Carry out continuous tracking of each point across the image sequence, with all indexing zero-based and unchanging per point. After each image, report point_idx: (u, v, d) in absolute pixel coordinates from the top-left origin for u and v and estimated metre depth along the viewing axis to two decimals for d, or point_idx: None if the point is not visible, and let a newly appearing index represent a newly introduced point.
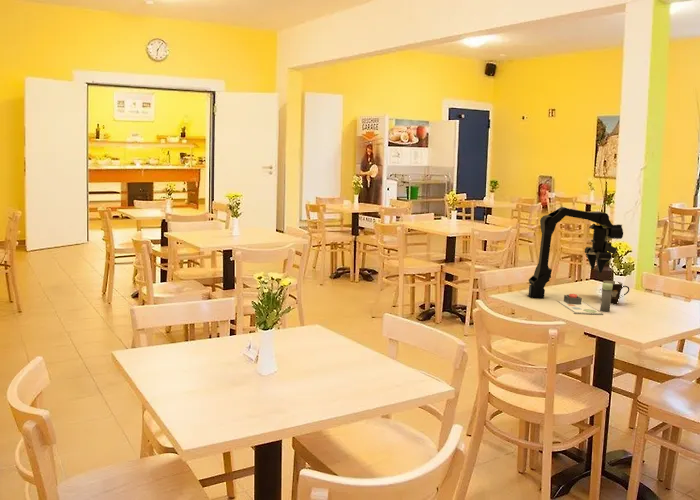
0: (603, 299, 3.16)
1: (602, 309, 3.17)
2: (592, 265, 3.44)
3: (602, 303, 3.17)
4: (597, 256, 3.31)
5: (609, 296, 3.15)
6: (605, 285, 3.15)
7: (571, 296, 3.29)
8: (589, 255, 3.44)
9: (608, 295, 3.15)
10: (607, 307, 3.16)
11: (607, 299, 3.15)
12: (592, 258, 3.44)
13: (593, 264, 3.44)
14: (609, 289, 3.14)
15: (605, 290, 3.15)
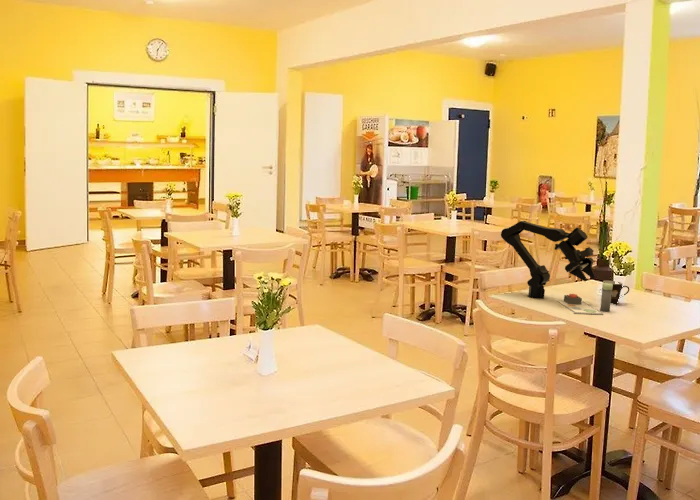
0: (603, 299, 3.16)
1: (602, 309, 3.17)
2: (591, 275, 3.26)
3: (602, 303, 3.17)
4: None
5: (609, 296, 3.15)
6: (605, 285, 3.15)
7: (571, 296, 3.29)
8: (583, 269, 3.29)
9: (608, 295, 3.15)
10: (607, 307, 3.16)
11: (607, 299, 3.15)
12: (588, 270, 3.27)
13: (591, 274, 3.26)
14: (609, 289, 3.14)
15: (605, 290, 3.15)
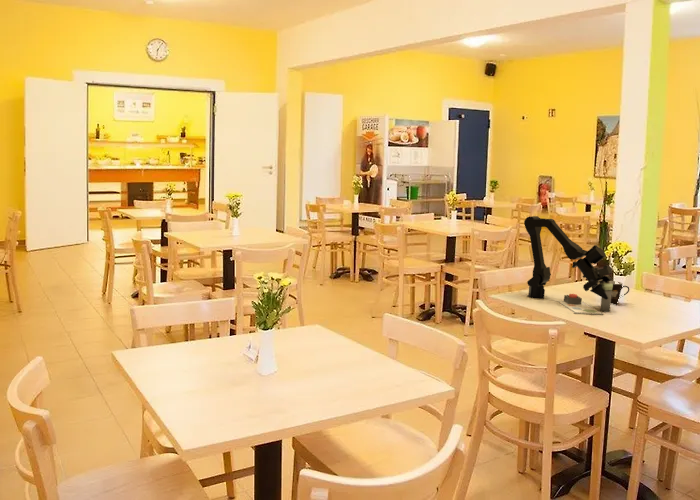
0: (603, 299, 3.16)
1: (602, 309, 3.17)
2: None
3: (602, 303, 3.17)
4: None
5: (609, 296, 3.15)
6: (605, 285, 3.15)
7: (571, 296, 3.29)
8: None
9: (608, 295, 3.15)
10: (607, 307, 3.16)
11: (607, 299, 3.15)
12: None
13: None
14: (609, 289, 3.14)
15: (605, 290, 3.15)
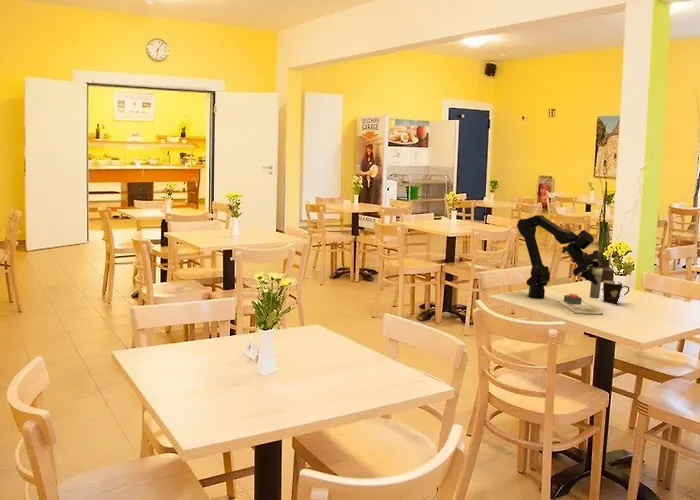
0: (593, 284, 3.14)
1: (592, 294, 3.14)
2: None
3: (592, 288, 3.14)
4: None
5: (599, 281, 3.13)
6: (595, 270, 3.12)
7: (571, 296, 3.29)
8: None
9: (598, 280, 3.13)
10: (597, 292, 3.13)
11: (597, 284, 3.13)
12: None
13: None
14: (599, 274, 3.12)
15: (595, 275, 3.13)
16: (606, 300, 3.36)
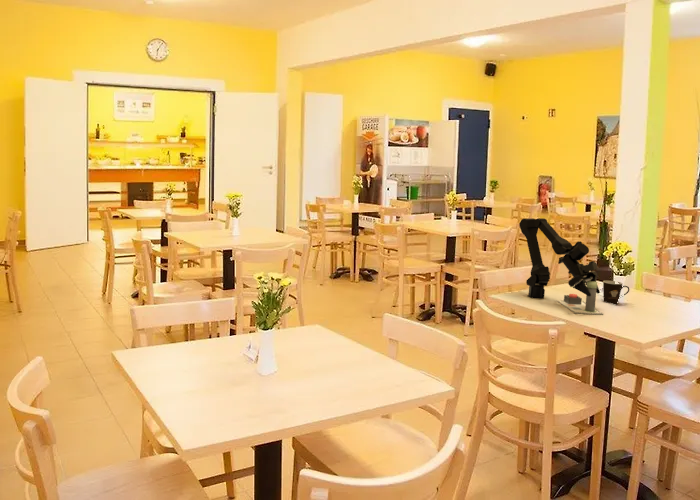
0: (588, 297, 3.14)
1: (587, 307, 3.15)
2: None
3: (587, 301, 3.15)
4: None
5: (594, 294, 3.13)
6: (589, 283, 3.13)
7: (571, 296, 3.29)
8: None
9: (593, 293, 3.13)
10: (592, 305, 3.14)
11: (592, 297, 3.13)
12: None
13: None
14: (594, 287, 3.13)
15: (590, 288, 3.13)
16: (606, 300, 3.36)
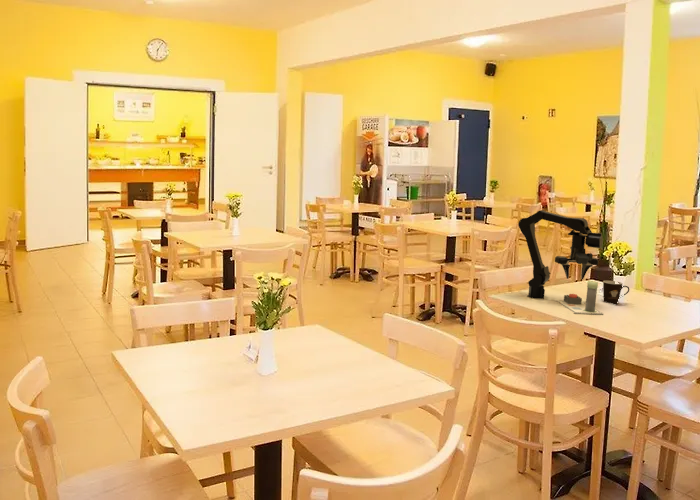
0: (588, 297, 3.14)
1: (587, 308, 3.15)
2: (581, 275, 3.30)
3: (587, 301, 3.15)
4: None
5: (594, 294, 3.13)
6: (590, 283, 3.13)
7: (571, 296, 3.29)
8: (582, 264, 3.31)
9: (593, 293, 3.13)
10: (592, 306, 3.14)
11: (592, 297, 3.13)
12: (583, 268, 3.29)
13: (582, 274, 3.29)
14: (594, 287, 3.12)
15: (590, 288, 3.13)
16: (606, 300, 3.36)
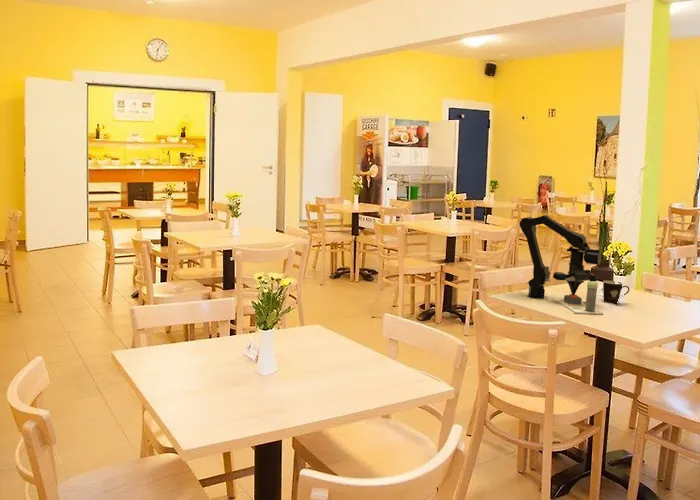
0: (588, 297, 3.14)
1: (587, 308, 3.15)
2: None
3: (587, 301, 3.15)
4: None
5: (594, 294, 3.13)
6: (590, 283, 3.13)
7: (571, 296, 3.29)
8: (574, 280, 3.32)
9: (593, 293, 3.13)
10: (592, 306, 3.14)
11: (592, 297, 3.13)
12: (575, 284, 3.30)
13: None
14: (594, 287, 3.12)
15: (590, 288, 3.13)
16: (606, 300, 3.36)
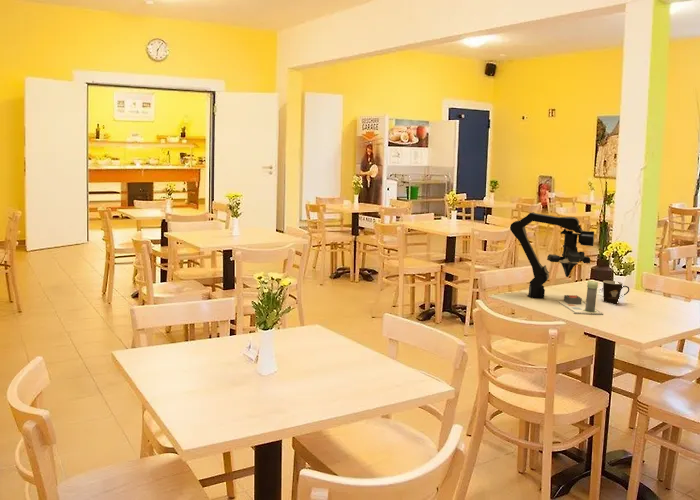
0: (588, 297, 3.14)
1: (587, 308, 3.15)
2: None
3: (587, 301, 3.15)
4: None
5: (594, 294, 3.13)
6: (590, 283, 3.13)
7: None
8: (568, 262, 3.35)
9: (593, 293, 3.13)
10: (592, 306, 3.14)
11: (592, 297, 3.13)
12: (569, 266, 3.33)
13: None
14: (594, 287, 3.12)
15: (590, 288, 3.13)
16: (606, 300, 3.36)
